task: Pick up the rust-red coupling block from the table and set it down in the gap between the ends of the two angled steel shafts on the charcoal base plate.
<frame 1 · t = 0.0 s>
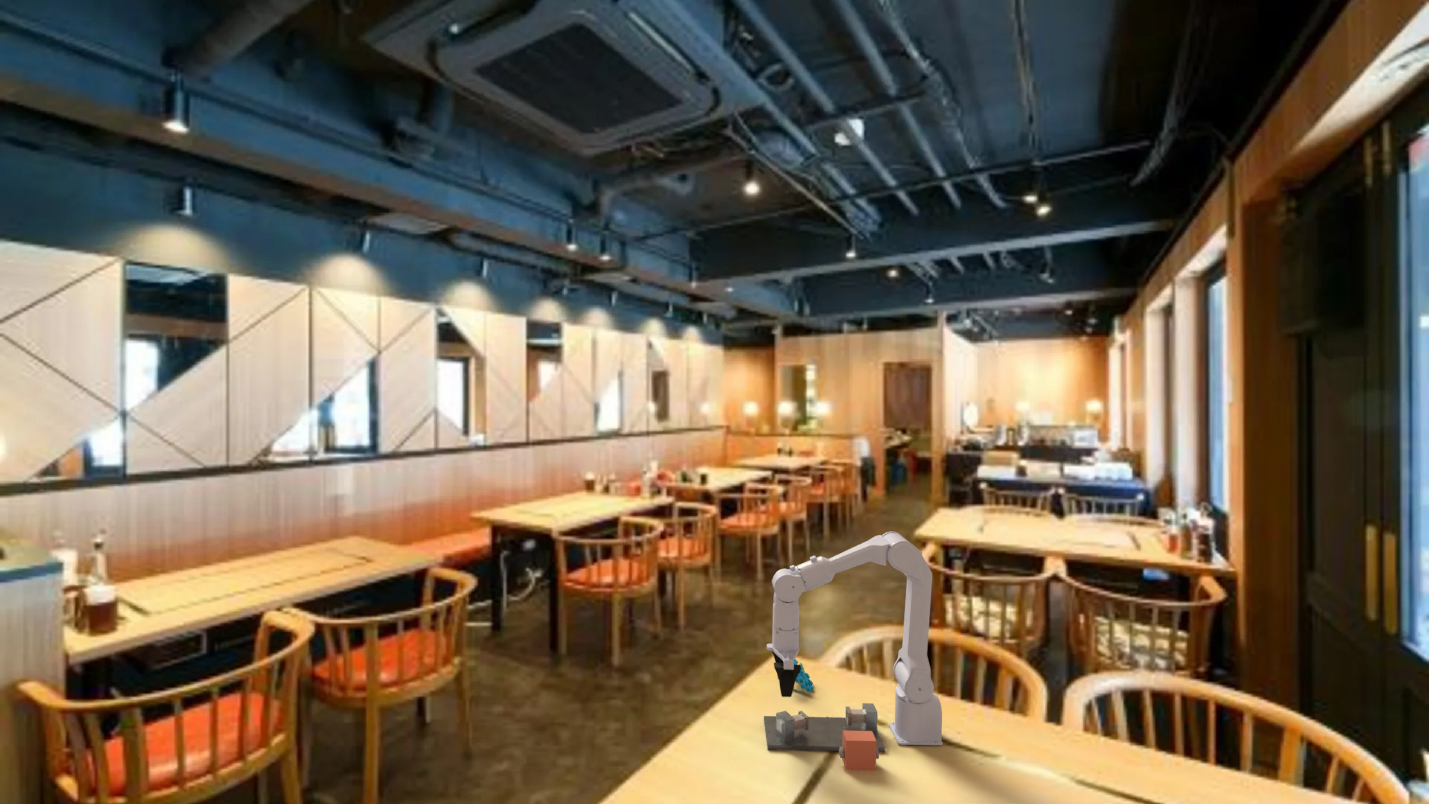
hand: (784, 687, 137), 10 cm above the table, tool pointing down, fingers open, 7 cm apart
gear: (798, 688, 158), on the table
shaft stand: (823, 731, 138), on the table
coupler: (858, 765, 126), on the table
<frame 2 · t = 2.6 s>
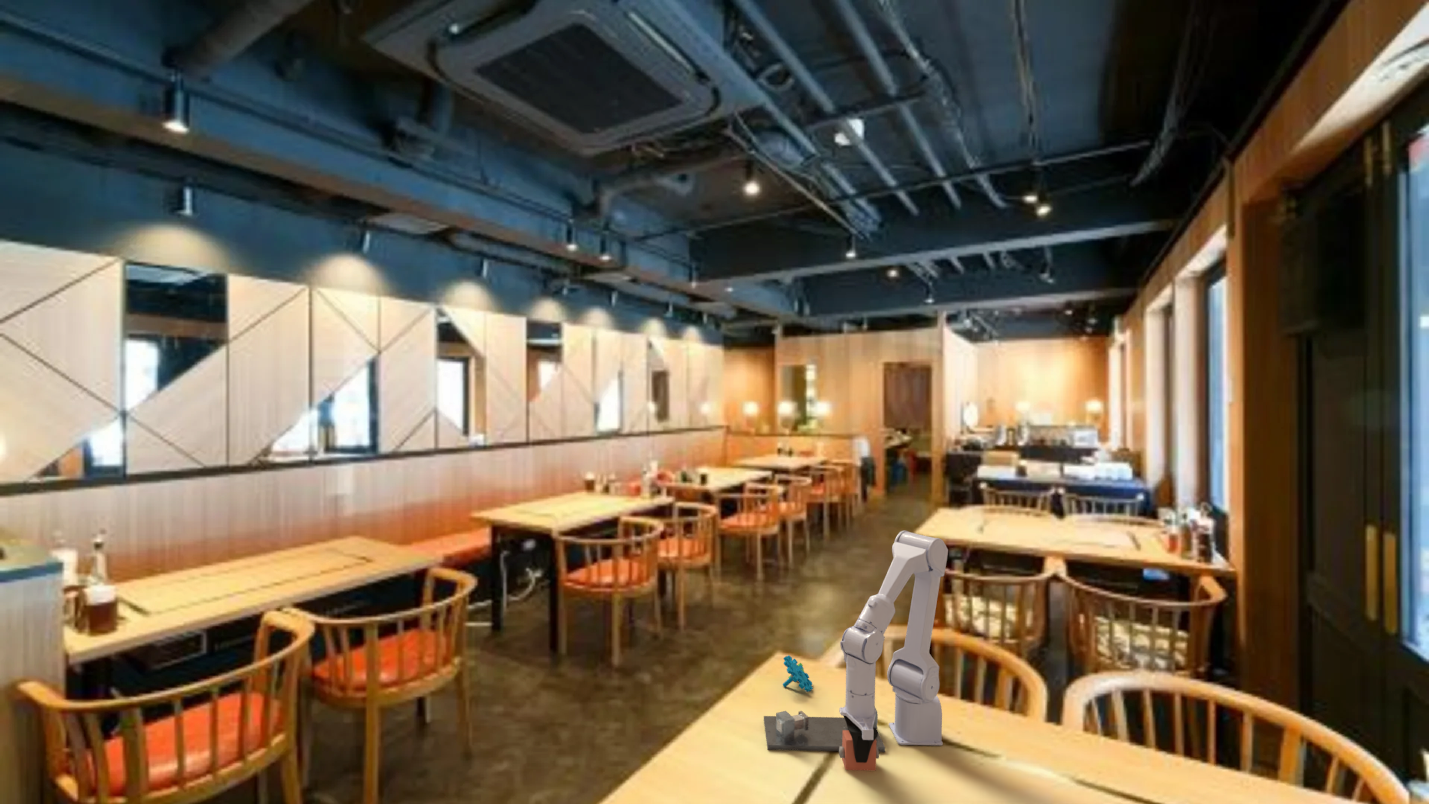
hand: (858, 755, 126), 2 cm above the table, tool pointing down, fingers closed on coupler, 4 cm apart
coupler: (858, 764, 126), on the table, touching gripper
everything else where it was.
when the fingers open (4 cm above the table, at t = 8.6 s): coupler drops 1 cm, resting on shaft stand.
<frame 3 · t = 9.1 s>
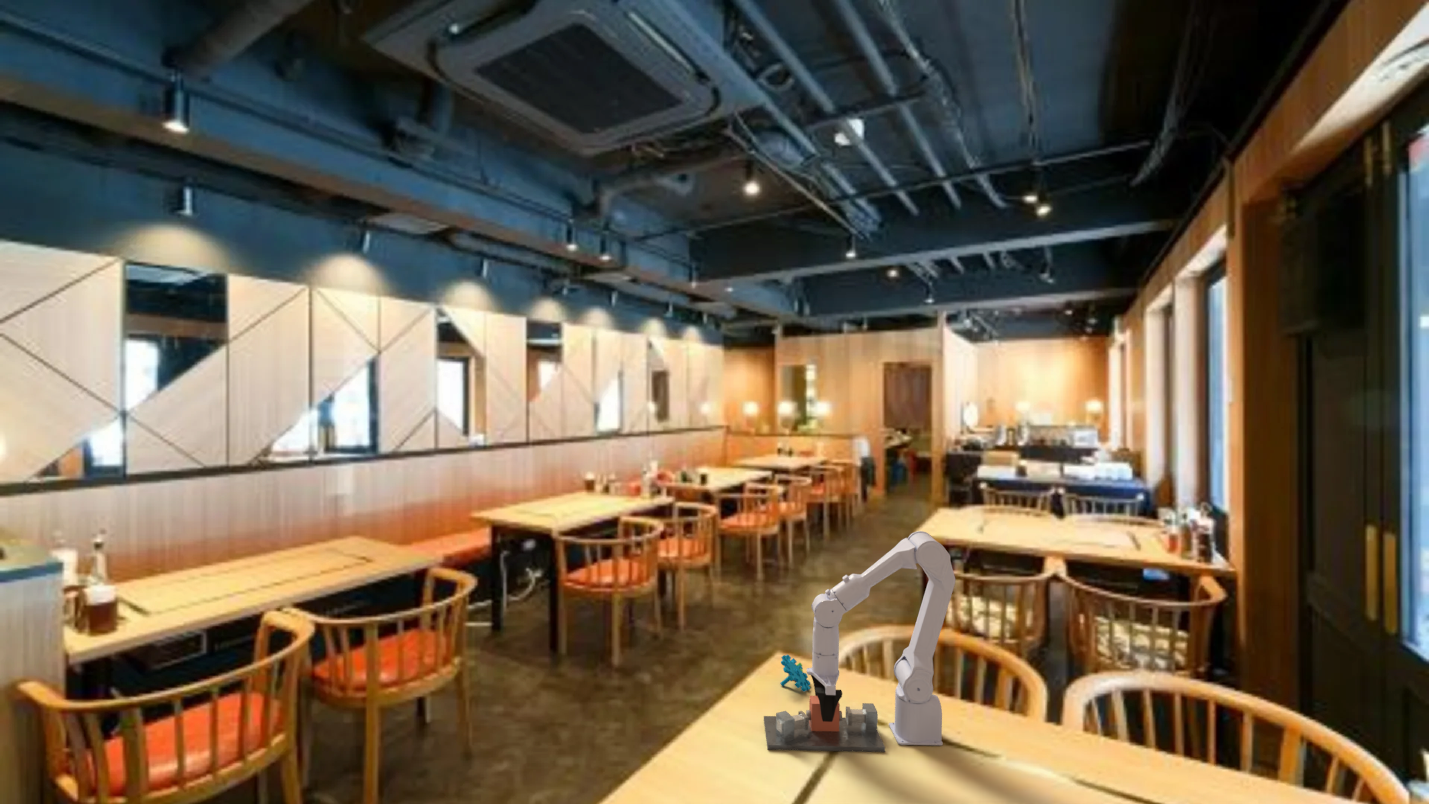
hand: (824, 711, 138), 4 cm above the table, tool pointing down, fingers open, 7 cm apart
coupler: (823, 726, 138), point 1 cm above the table, touching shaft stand
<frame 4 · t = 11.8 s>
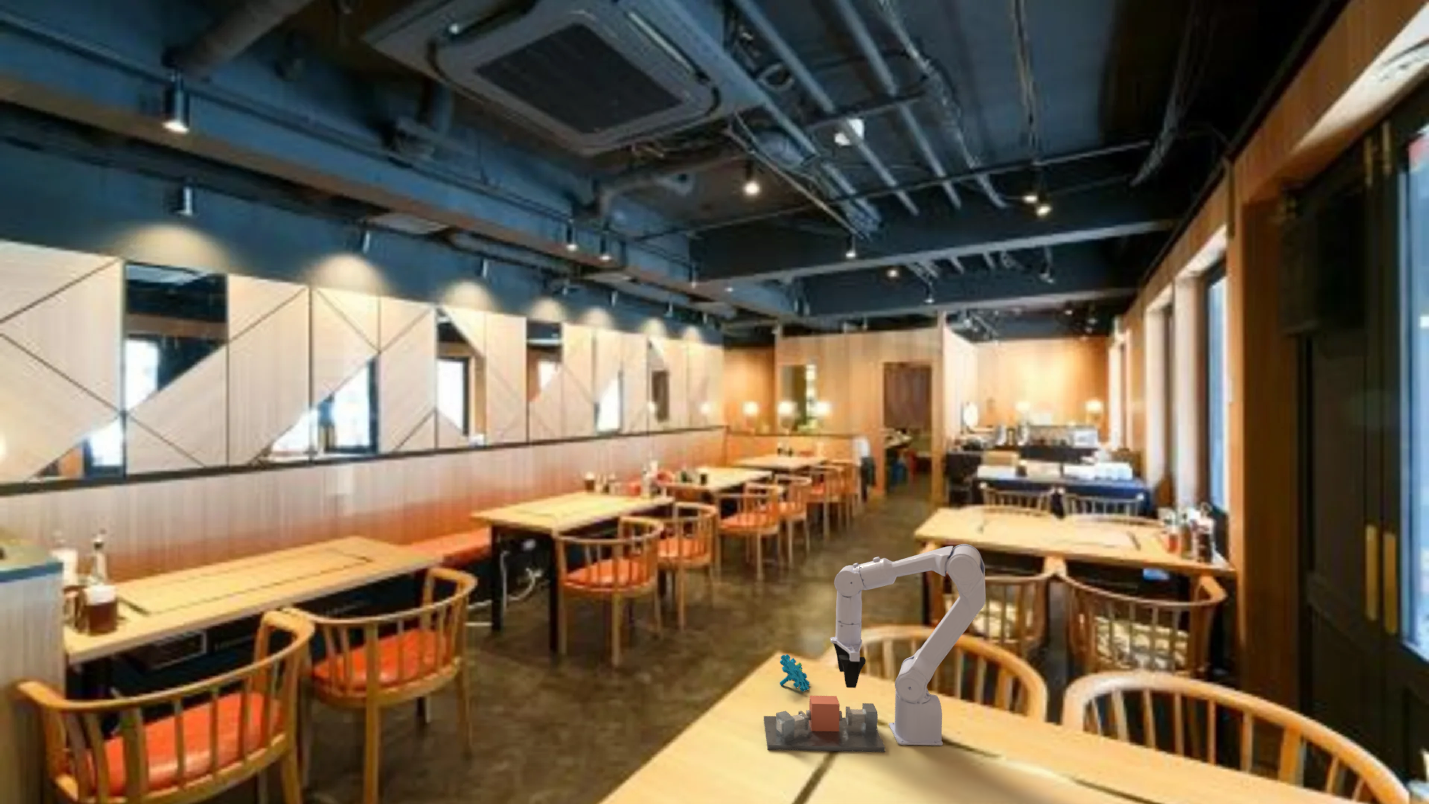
hand: (847, 679, 143), 9 cm above the table, tool pointing down, fingers open, 7 cm apart
at the end: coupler 0.0 cm off-centre on the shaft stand, point 1.0 cm above the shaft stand's base; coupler tilted 0°; the gripper is holding nothing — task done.
